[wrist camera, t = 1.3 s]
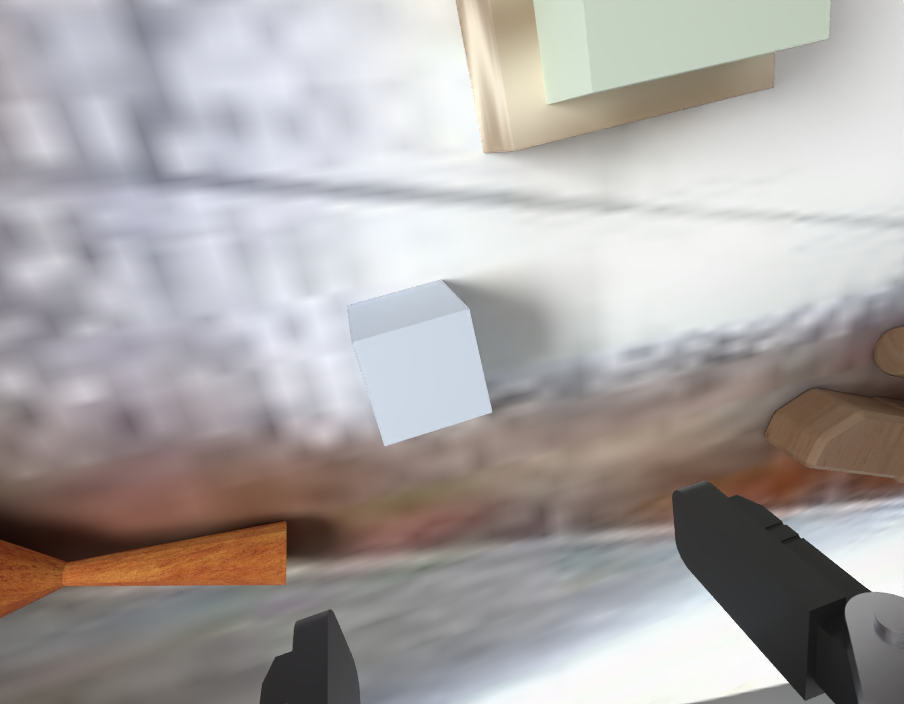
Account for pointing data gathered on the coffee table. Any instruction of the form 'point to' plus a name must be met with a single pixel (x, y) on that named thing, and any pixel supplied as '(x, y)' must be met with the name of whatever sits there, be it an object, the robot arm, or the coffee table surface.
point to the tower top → (662, 38)
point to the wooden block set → (847, 424)
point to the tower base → (534, 122)
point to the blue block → (418, 360)
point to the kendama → (149, 565)
